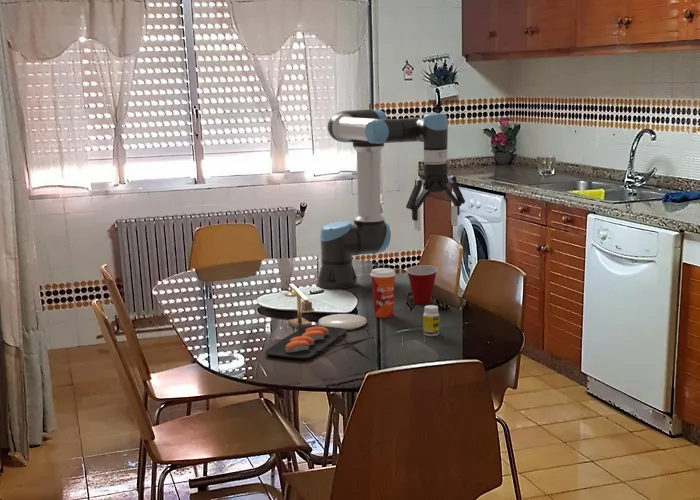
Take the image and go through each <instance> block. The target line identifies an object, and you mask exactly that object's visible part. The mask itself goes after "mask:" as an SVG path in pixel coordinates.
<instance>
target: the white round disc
mask: <svg viewBox="0 0 700 500" xmlns="http://www.w3.org/2000/svg"><path fill="white" fill-rule="evenodd" d="M367 322H368V321H367V318H366V317H364V316H362V315H359V314H354V313H337V314H330V315H326V316H323V317H321V318H319V319H318V326H327V327H336V328H343V329H346V331H349V330H350V331H351V330H357V329H359V328H361V327H363V326H365V325H366V324H367Z"/></svg>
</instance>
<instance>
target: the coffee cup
mask: <svg viewBox="0 0 700 500" xmlns="http://www.w3.org/2000/svg"><path fill="white" fill-rule="evenodd" d="M396 275H397V273H396V271H395V269H393V268H389V267H380V268H379V267H377V268H373V269H372V270H371V273H370V276H371V287H372V290H371V291H372V299H373V301H372V302H373V303H372V304H373V314H374V316H375V318H381V319H385V318H387V319H389V318H391V317H393V316H394V303H395V286H396V285H395V282H396V280H395V279H396Z"/></svg>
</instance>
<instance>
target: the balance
mask: <svg viewBox="0 0 700 500" xmlns="http://www.w3.org/2000/svg"><path fill="white" fill-rule="evenodd" d="M289 287H290V291H288V292H285V293H284V297H287V298H288V297H289V298H292V297H293V298H294V297H295V298H296V304H297V305H296V306H297V307H296V308H297V317H296V318H293V319H291V318H290V319H288V320H287V324H288V325H290V326H291V327H293V328H294V329H297V330H299V329H300V328H302V327H304V326H308V325H313V324H312V322H311V321H309V320H308V319H306V318H305V317H302V314H312V313H313V312H315V308H313V302H312V301H311V300H309V299H308V297H307V296H306V295H304V294H303V292H301V290H299V288H298V287H296V285H295V284H294V283H289Z"/></svg>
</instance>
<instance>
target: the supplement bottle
mask: <svg viewBox="0 0 700 500" xmlns="http://www.w3.org/2000/svg"><path fill="white" fill-rule="evenodd" d="M422 317H423V319H422V321H423V323H422V326H423V328H422V329H423V331H422V333H423V335H424V336H426V337H427V336H428V337H436V336H438V335H440V313H439V306H438V305H434V304H427V305H425V306H424V312H423V316H422Z"/></svg>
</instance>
